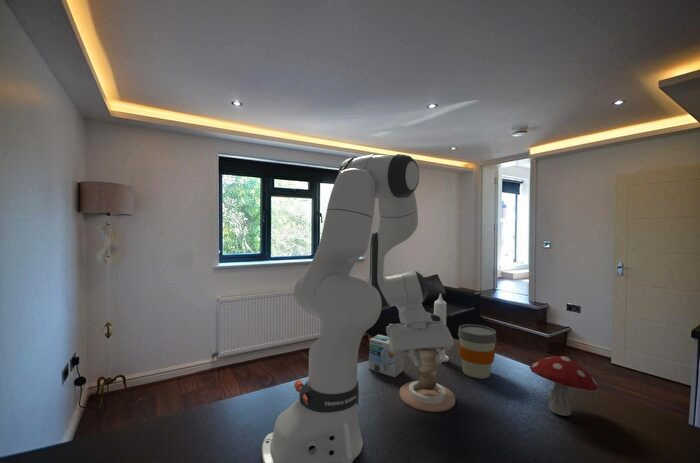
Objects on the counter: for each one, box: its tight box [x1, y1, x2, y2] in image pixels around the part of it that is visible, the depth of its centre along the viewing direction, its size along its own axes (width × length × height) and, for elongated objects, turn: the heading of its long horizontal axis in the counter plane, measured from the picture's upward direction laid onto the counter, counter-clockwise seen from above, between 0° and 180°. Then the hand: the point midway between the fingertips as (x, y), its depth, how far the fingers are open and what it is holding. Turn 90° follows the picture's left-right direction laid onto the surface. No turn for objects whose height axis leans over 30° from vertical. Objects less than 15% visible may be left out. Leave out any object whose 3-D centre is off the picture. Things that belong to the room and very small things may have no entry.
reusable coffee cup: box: [457, 323, 498, 379], centre depth 112 cm, size 13×12×15 cm
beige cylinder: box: [417, 349, 437, 390], centre depth 95 cm, size 5×5×10 cm
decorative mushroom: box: [529, 355, 599, 417], centre depth 88 cm, size 16×16×15 cm
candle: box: [433, 293, 450, 363], centre depth 123 cm, size 7×7×25 cm
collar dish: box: [399, 380, 456, 413], centre depth 95 cm, size 16×16×2 cm
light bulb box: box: [368, 334, 405, 378], centre depth 112 cm, size 11×7×11 cm, turn 55°
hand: (428, 365), depth 94 cm, fingers closed on beige cylinder, 5 cm apart
